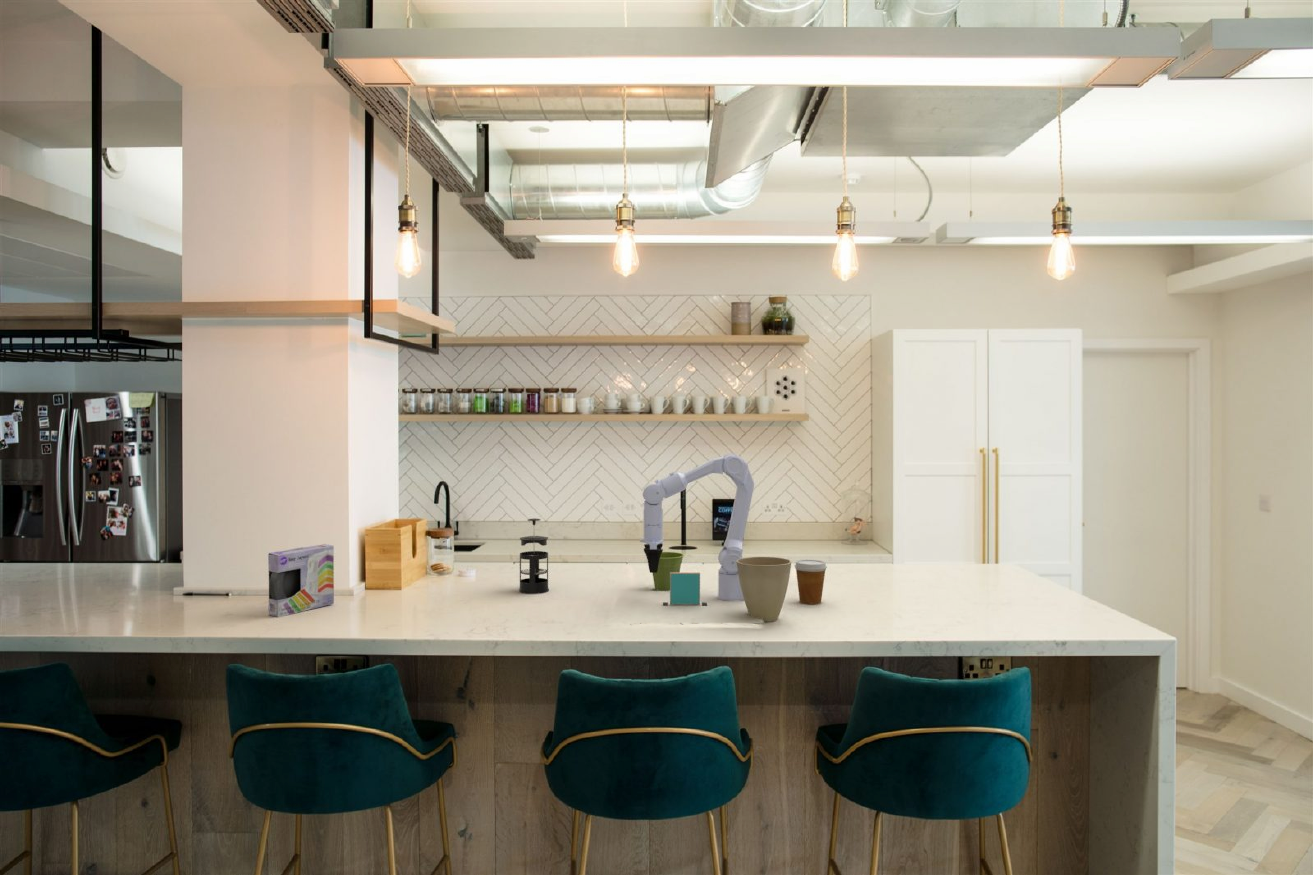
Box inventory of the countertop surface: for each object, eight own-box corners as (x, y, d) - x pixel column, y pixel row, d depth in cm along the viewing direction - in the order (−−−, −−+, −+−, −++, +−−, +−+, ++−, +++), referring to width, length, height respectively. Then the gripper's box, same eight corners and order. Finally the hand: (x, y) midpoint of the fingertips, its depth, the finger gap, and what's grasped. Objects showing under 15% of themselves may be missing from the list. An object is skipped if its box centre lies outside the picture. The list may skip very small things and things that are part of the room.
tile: (699, 603, 232) (699, 572, 232) (700, 604, 231) (700, 573, 231) (669, 603, 232) (670, 572, 232) (670, 604, 231) (670, 573, 231)
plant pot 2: (780, 611, 229) (781, 555, 229) (798, 624, 214) (799, 564, 214) (729, 613, 226) (730, 556, 226) (744, 626, 212) (744, 566, 211)
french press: (547, 594, 251) (547, 520, 251) (516, 594, 251) (516, 520, 250) (550, 586, 263) (550, 516, 262) (521, 586, 262) (521, 516, 262)
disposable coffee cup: (791, 603, 239) (791, 563, 238) (798, 597, 248) (798, 558, 247) (823, 606, 235) (823, 565, 235) (829, 600, 244) (829, 560, 244)
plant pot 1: (645, 586, 264) (645, 552, 264) (681, 585, 266) (681, 551, 265) (649, 593, 252) (649, 557, 252) (686, 593, 254) (686, 557, 254)
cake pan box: (274, 618, 219) (274, 553, 219) (263, 616, 221) (263, 552, 221) (335, 605, 235) (335, 544, 235) (324, 603, 238) (324, 543, 238)
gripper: (640, 521, 247) (640, 565, 247) (639, 527, 232) (639, 574, 233) (663, 521, 247) (663, 565, 247) (663, 527, 232) (664, 574, 233)
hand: (653, 570), depth 240 cm, fingers open, 7 cm apart
